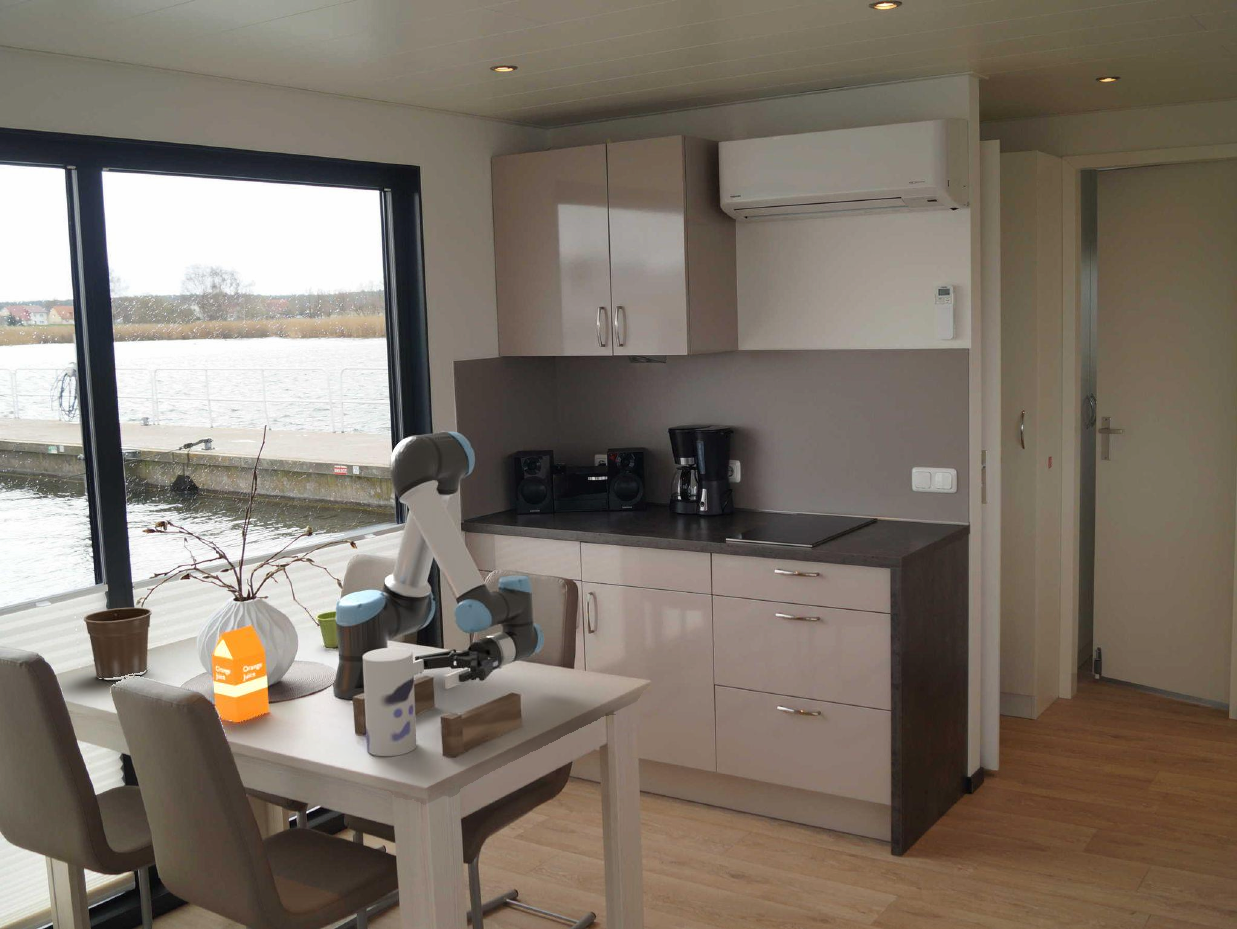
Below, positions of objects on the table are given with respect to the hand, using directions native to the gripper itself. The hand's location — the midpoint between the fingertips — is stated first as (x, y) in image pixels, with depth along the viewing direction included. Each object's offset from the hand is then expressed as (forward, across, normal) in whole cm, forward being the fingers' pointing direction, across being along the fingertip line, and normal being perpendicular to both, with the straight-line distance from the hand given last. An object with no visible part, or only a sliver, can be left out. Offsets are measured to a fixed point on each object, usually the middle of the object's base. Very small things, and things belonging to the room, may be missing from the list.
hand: (422, 677), depth 240 cm
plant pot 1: (+7, +104, -13) cm, 105 cm away
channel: (-4, 0, -12) cm, 13 cm away
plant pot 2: (-40, +76, -13) cm, 87 cm away
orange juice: (+12, +47, -13) cm, 50 cm away
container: (+10, 0, -13) cm, 16 cm away
